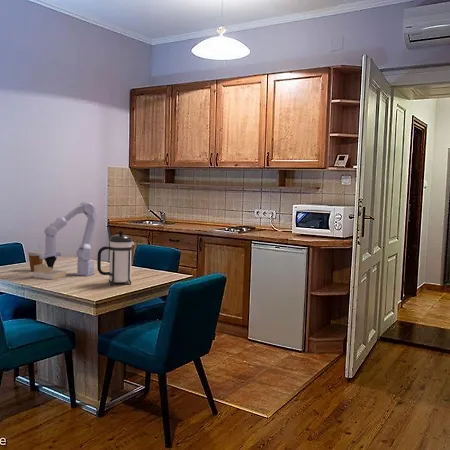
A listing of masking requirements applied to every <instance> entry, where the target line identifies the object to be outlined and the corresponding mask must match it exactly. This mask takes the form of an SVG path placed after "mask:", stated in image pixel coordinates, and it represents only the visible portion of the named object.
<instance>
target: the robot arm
mask: <svg viewBox="0 0 450 450" xmlns="http://www.w3.org/2000/svg"><path fill="white" fill-rule="evenodd" d="M78 214H79V215H81V214H84V215H85V216H86V218H87V221H86V225H85V227H84V228H85V229H84V234H83V236H82V241H81V243H80V245H79V248H78V249H77V251H76V257H77V262H76V263H77V266H76V267H77V269H76V270H77V272H76V273H74V274H73V275H74V276H83V277H84V276H86V277H88V276H93V275H96V274H95V262H94V261H93V260H91V257H92V253H91V250H92V249H91V248H92V246H91V244H92V240H93V237H94V231H95V227H96V224H97V219H98V214H97V212H96V207H95V205H94V204H93V203H92V202H87V201H82V202H80V203H79V204H77V206H75V207H74V208H73V209H72V210H71V211H69V212H68V213H67V214H66V215H64V216H62V217H57V218H56V220H55V221H54V222H53V223H50V224H49V225H47V226H46V227H45V228H44V230H43V231H44V234H45V239H44V240H45V241H44V243H45V249H44V252H45V253H44V254H43V255H40V259H43V261H45V263H46V264H47V267H52V270H54V269H53V268H54V265H55V262H56V261H57V257H61V256H62V253H61V252H56V247H57V246H56V245H57V242H56V240H57V238H56V235H57V234H58V232H60V231H61V230H62V229H63V228H64V227H66V226H67V224H68V222H69V221H70V220H71V219H73V218H74V217H76V216H77V215H78Z"/></svg>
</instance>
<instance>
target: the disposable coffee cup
mask: <svg viewBox="0 0 450 450" xmlns="http://www.w3.org/2000/svg"><path fill="white" fill-rule="evenodd" d="M44 252H45V251H44V250H30V251H28V253H27V254H28V259H29V267H30V271H31V272H34V265H39V264H44V263H43V261H44V258H43V259H40V255H43V254H45V253H44ZM35 272H36V271H35Z"/></svg>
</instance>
